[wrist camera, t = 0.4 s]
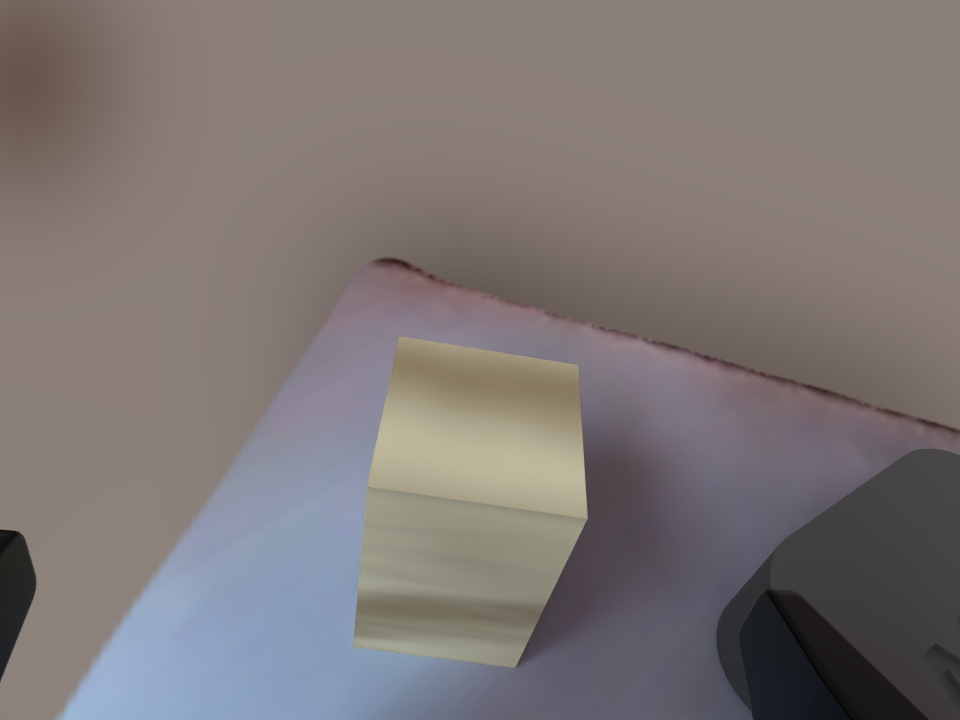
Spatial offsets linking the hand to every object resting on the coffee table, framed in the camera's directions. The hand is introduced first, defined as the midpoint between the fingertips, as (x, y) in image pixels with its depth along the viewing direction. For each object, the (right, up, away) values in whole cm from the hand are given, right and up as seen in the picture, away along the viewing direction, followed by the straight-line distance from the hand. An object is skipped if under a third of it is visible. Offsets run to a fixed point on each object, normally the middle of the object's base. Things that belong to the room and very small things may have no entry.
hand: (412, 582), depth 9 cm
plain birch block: (-1, -6, +19) cm, 20 cm away
